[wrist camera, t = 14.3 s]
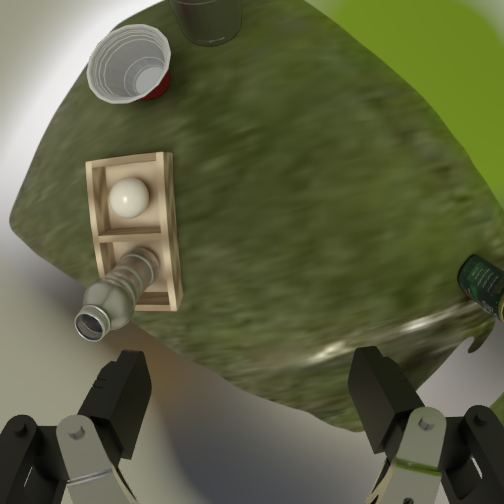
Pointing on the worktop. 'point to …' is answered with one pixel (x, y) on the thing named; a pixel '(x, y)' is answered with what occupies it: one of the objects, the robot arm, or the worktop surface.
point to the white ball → (129, 197)
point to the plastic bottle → (116, 294)
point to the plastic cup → (130, 65)
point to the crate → (138, 223)
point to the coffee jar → (484, 285)
